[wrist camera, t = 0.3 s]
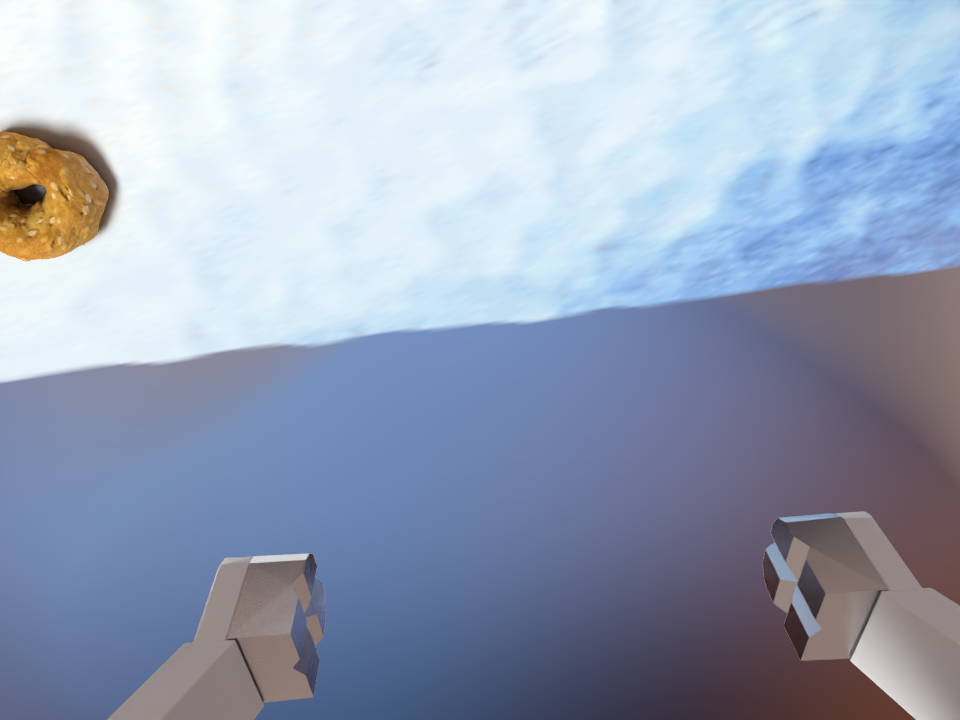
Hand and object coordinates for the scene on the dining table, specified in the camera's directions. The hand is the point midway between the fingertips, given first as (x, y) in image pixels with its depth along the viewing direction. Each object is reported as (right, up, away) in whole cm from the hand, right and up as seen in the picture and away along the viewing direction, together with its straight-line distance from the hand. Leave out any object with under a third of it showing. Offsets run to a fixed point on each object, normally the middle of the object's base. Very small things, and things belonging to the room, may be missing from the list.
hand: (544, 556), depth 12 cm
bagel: (-37, +17, +43) cm, 59 cm away
